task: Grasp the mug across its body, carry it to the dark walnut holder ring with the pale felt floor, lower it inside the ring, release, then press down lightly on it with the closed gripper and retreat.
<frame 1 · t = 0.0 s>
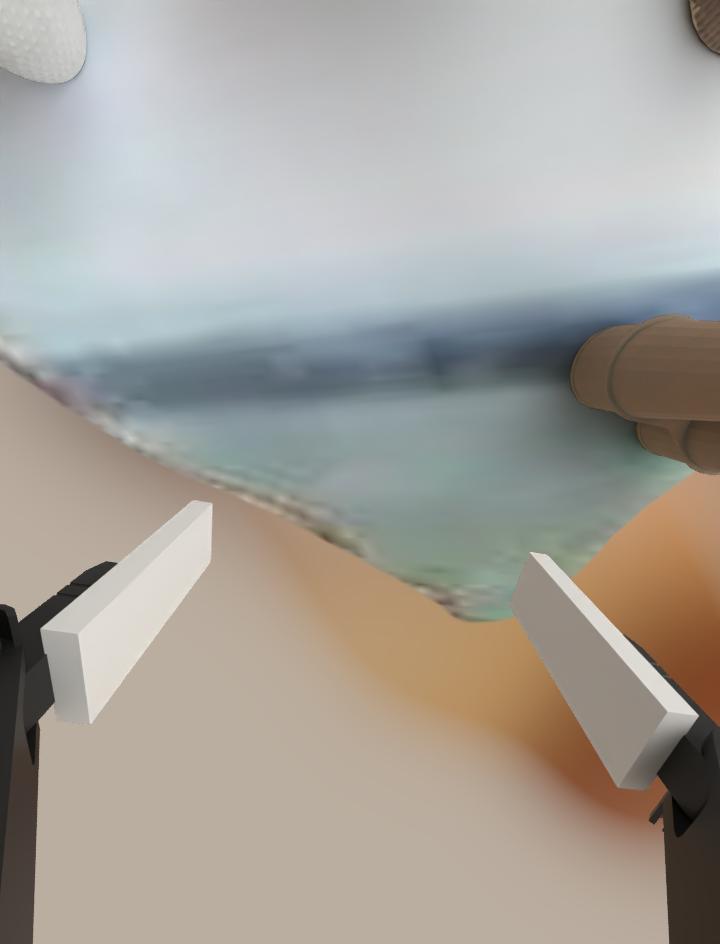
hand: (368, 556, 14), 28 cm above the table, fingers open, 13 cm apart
mug: (59, 28, 29), on the table
binoculars: (643, 394, 39), on the table
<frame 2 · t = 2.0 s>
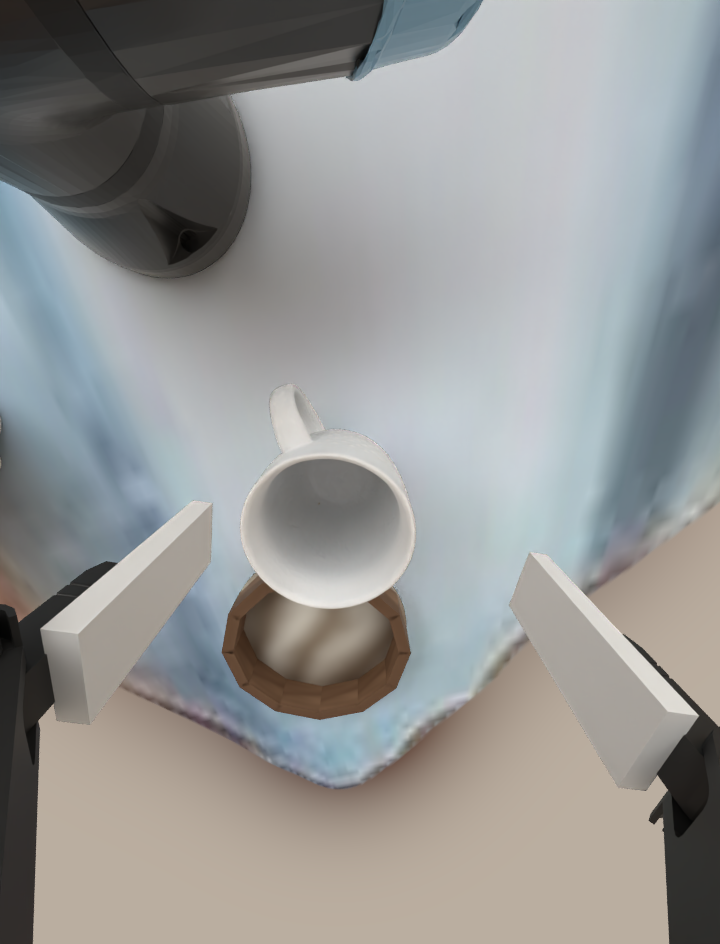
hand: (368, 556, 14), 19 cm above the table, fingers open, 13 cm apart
mug: (336, 460, 33), on the table
holder: (320, 625, 39), on the table
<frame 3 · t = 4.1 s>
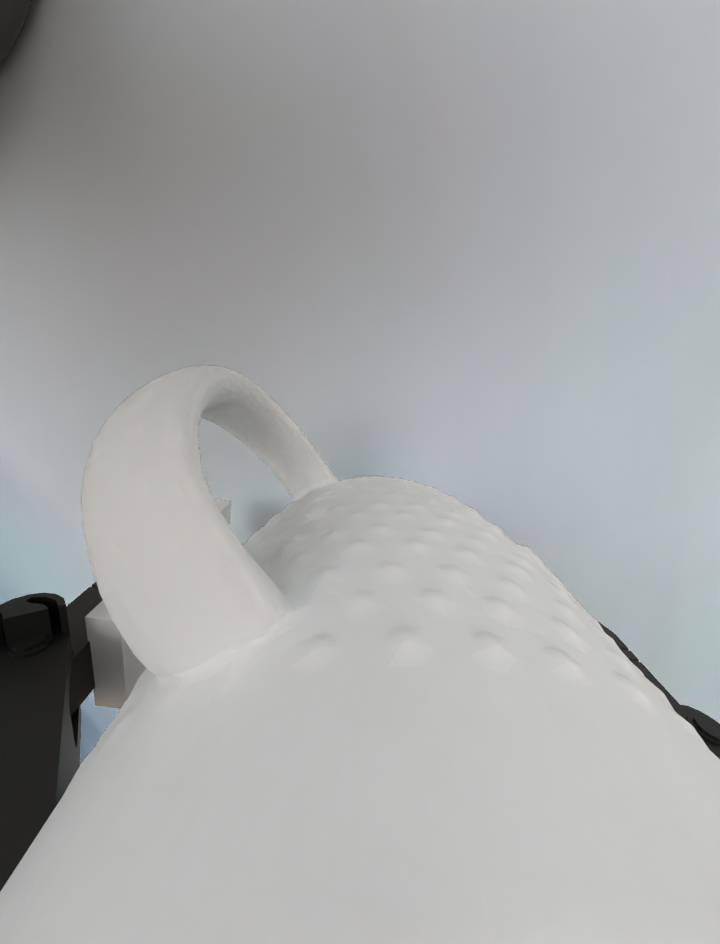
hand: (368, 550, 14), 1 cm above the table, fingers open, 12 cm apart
mug: (361, 528, 16), on the table, touching gripper
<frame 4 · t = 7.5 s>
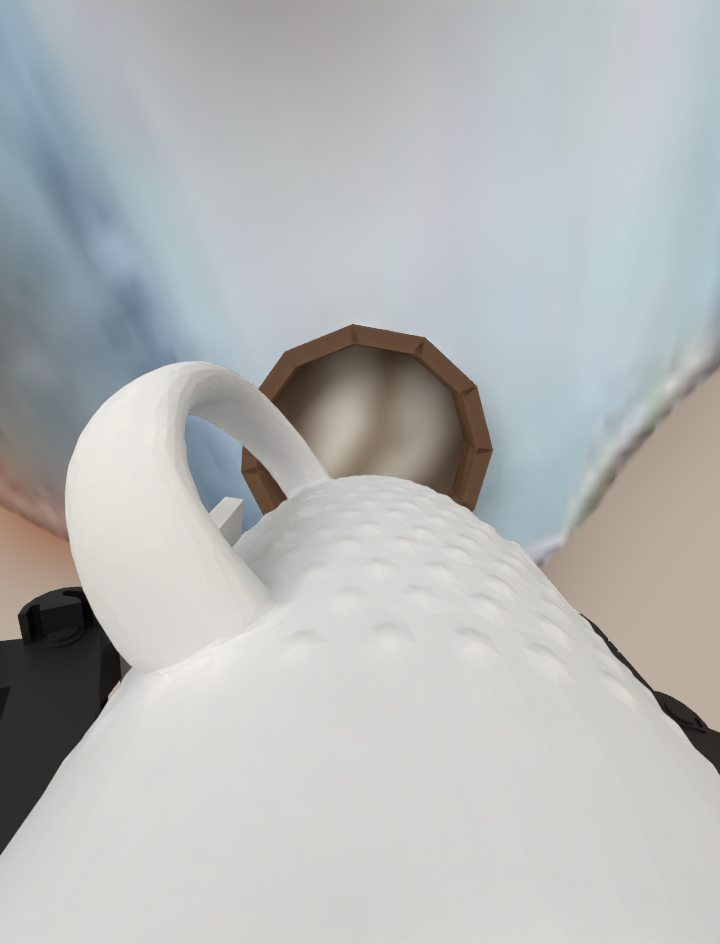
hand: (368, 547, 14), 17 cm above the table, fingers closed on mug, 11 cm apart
mug: (356, 527, 16), point 15 cm above the table, touching gripper
holder: (364, 448, 30), on the table
when the fingers open (3 cm above the table, at t = 10.5 s): mug drops 1 cm, resting on holder.
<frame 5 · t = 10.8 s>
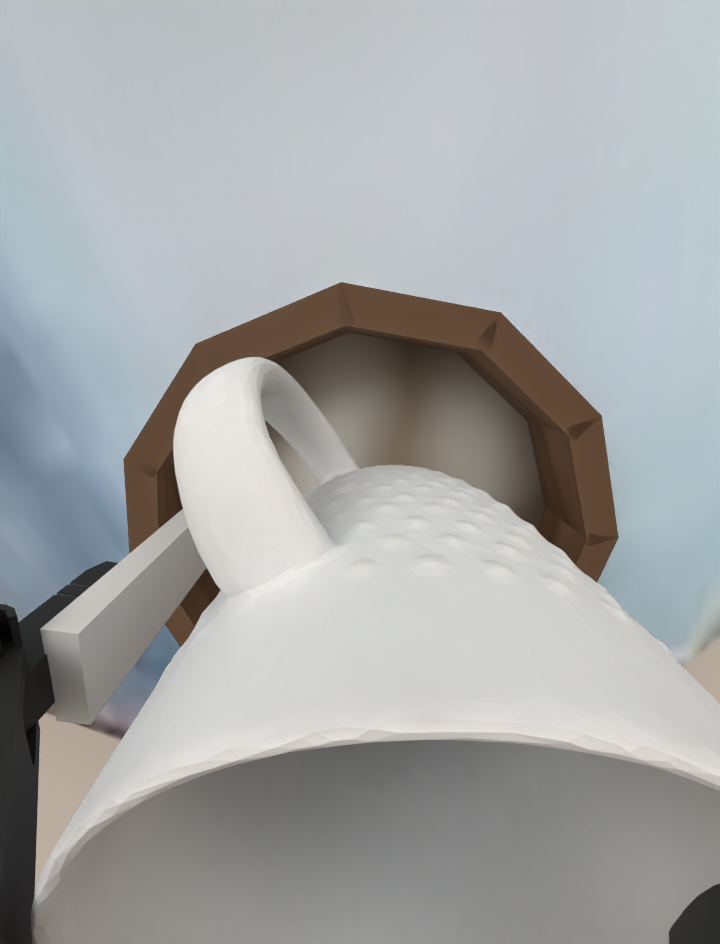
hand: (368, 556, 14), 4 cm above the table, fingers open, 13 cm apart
mug: (378, 517, 17), resting on holder, touching gripper
holder: (367, 515, 17), on the table
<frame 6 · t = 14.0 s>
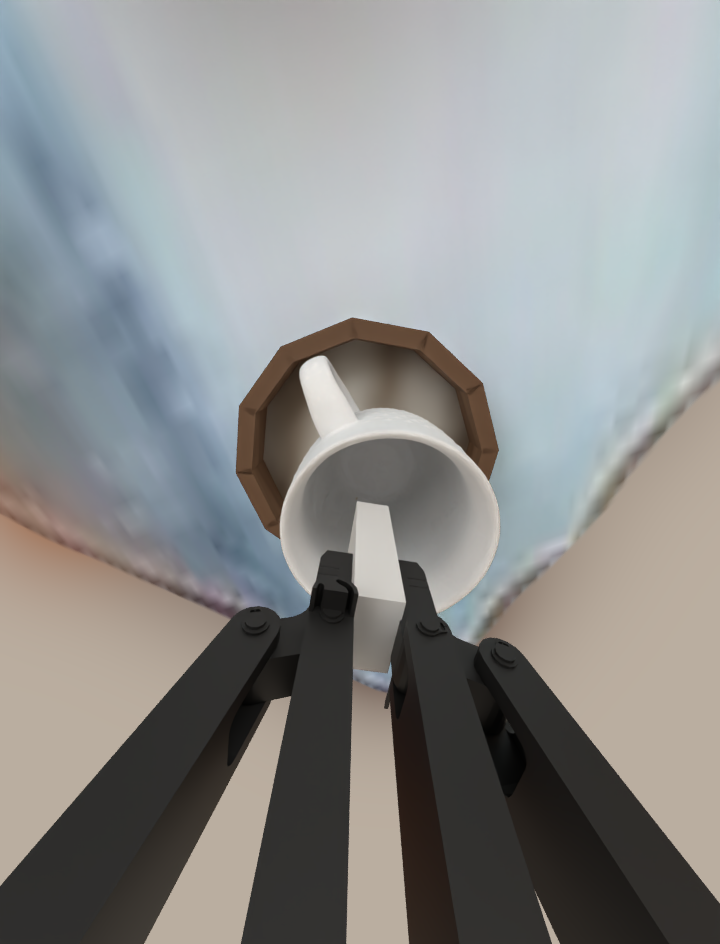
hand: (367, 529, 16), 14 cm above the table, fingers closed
mug: (371, 447, 29), resting on holder, touching gripper
holder: (365, 448, 29), on the table
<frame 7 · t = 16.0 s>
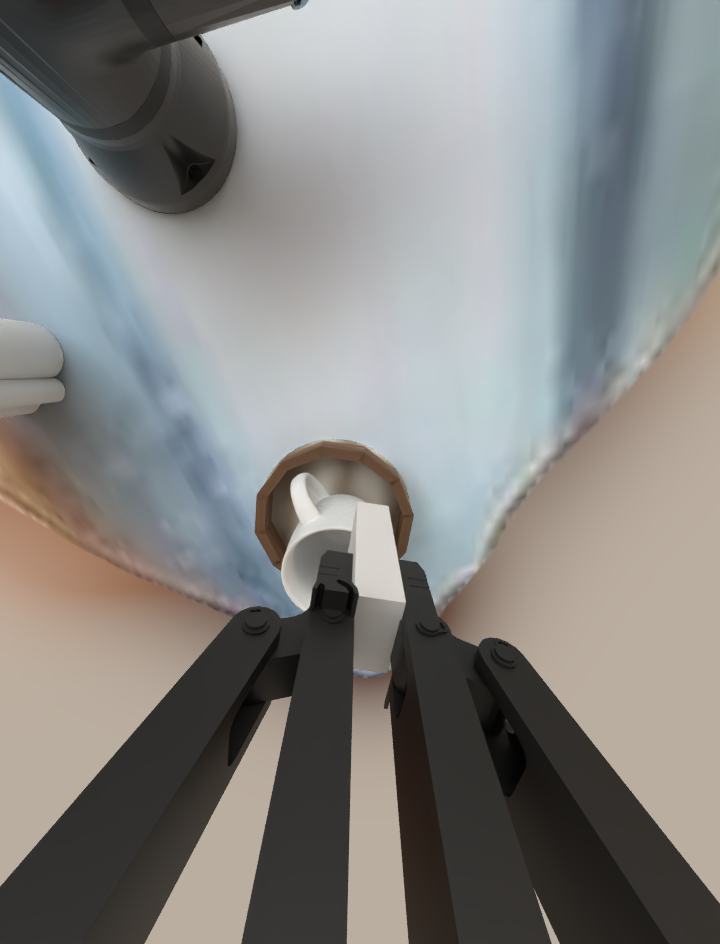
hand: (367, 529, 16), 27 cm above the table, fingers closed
mug: (339, 511, 45), resting on holder
vase: (37, 372, 40), on the table
holder: (335, 511, 45), on the table
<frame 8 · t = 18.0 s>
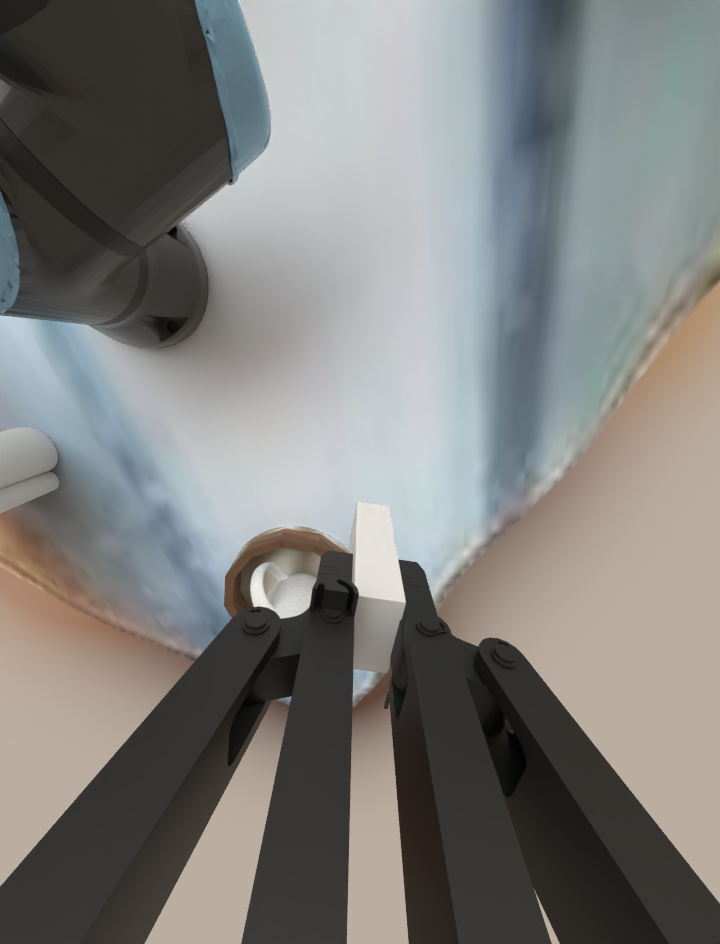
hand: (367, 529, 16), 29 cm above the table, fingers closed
mug: (299, 584, 52), resting on holder
vase: (34, 466, 46), on the table
holder: (296, 583, 52), on the table
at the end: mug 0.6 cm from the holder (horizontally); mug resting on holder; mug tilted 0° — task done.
